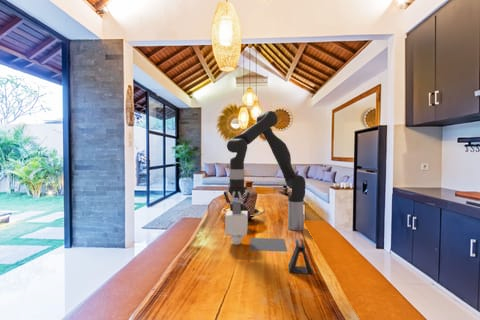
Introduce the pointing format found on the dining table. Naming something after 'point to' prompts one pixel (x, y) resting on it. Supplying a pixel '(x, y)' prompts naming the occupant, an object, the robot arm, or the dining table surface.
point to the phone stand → (293, 261)
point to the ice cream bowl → (246, 210)
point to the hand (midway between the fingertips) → (236, 211)
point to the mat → (267, 244)
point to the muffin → (236, 239)
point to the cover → (236, 220)
